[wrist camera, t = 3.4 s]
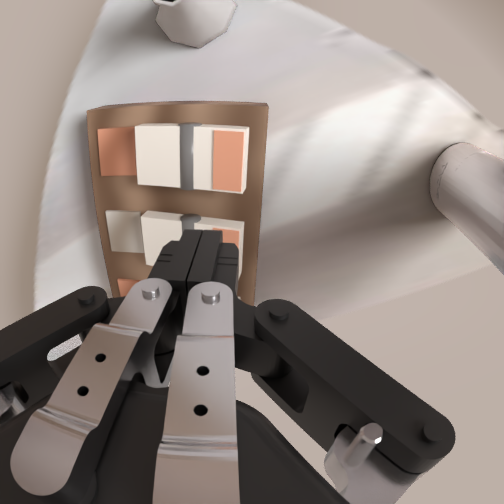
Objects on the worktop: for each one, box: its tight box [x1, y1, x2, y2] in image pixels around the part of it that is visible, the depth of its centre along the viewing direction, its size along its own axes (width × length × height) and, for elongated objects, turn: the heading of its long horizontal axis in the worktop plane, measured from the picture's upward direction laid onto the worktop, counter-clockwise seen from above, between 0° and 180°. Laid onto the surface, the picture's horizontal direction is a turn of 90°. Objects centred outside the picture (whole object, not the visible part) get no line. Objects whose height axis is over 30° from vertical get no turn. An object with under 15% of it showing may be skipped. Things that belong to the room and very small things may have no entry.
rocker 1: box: [135, 122, 249, 194], centre depth 24 cm, size 9×5×2 cm, turn 87°
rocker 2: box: [141, 211, 244, 280], centre depth 28 cm, size 9×5×2 cm, turn 87°
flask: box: [152, 0, 237, 48], centre depth 19 cm, size 7×7×10 cm
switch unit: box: [87, 101, 269, 306], centre depth 32 cm, size 16×24×4 cm, turn 177°
